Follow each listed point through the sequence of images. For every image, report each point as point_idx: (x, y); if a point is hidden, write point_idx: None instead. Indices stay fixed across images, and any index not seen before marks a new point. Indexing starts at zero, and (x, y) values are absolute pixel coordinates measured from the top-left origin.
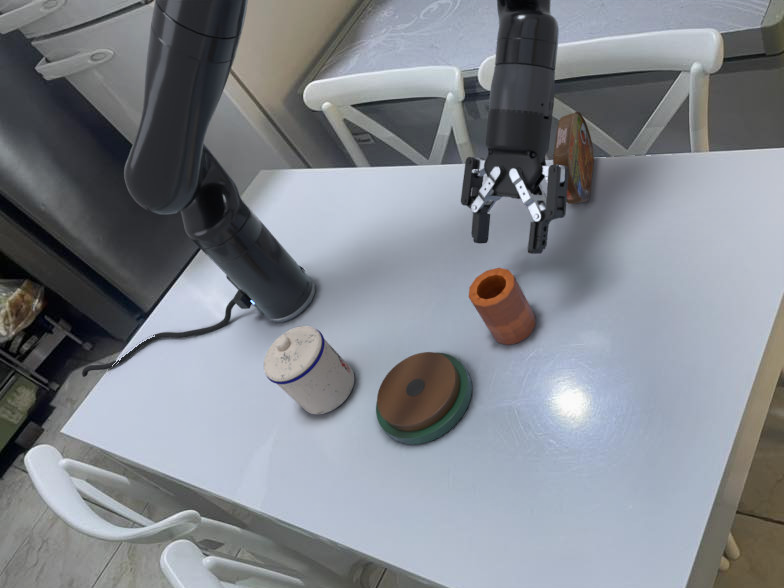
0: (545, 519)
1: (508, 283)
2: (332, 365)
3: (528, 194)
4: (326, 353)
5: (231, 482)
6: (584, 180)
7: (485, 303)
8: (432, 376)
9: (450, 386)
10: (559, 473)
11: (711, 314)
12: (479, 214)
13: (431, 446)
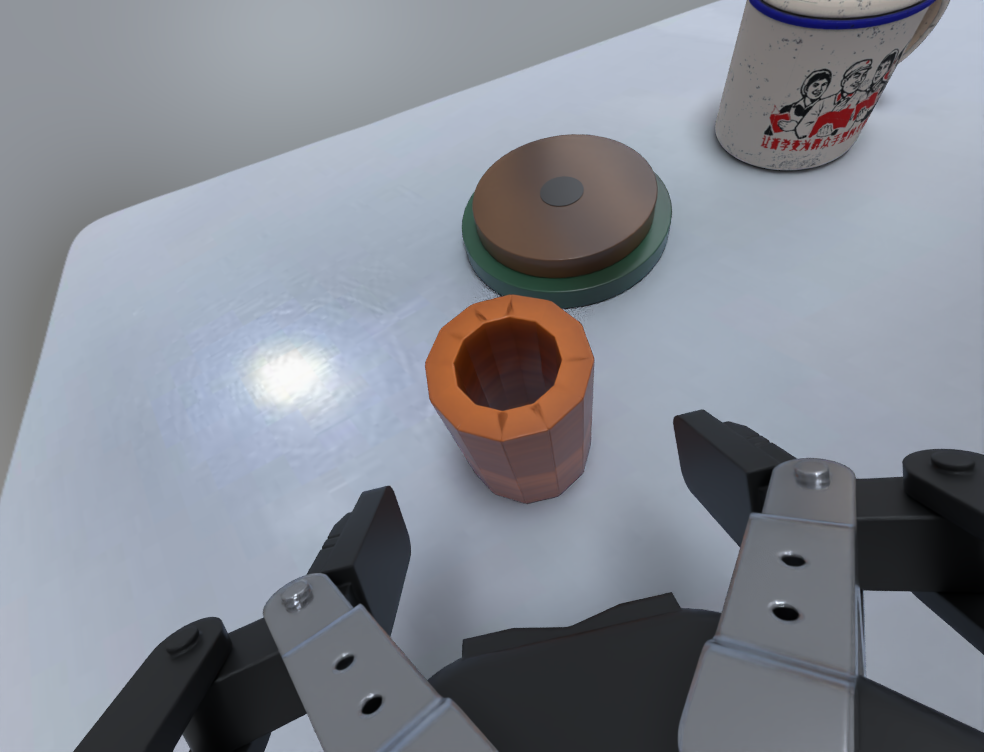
0: (241, 240)
1: (455, 398)
2: (761, 73)
3: (296, 672)
4: (783, 42)
5: (736, 3)
6: None
7: (475, 313)
8: (549, 221)
9: (490, 230)
10: (250, 287)
11: (54, 737)
12: (746, 471)
13: None
